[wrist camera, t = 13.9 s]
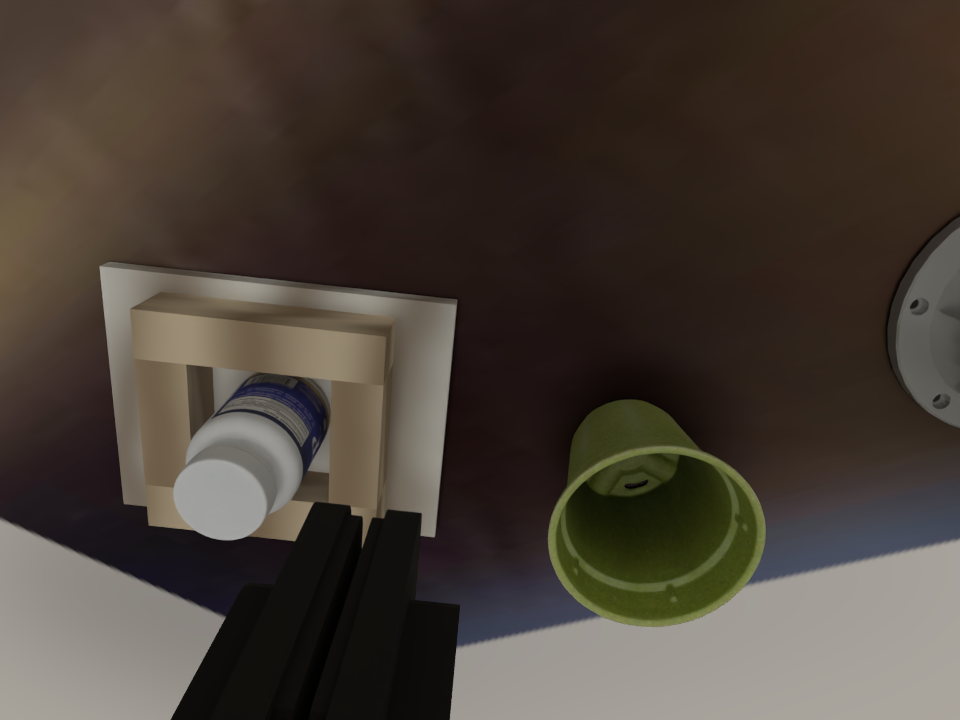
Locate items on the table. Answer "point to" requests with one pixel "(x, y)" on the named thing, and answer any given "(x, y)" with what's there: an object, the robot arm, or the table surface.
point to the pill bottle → (251, 455)
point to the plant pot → (651, 521)
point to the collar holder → (286, 351)
